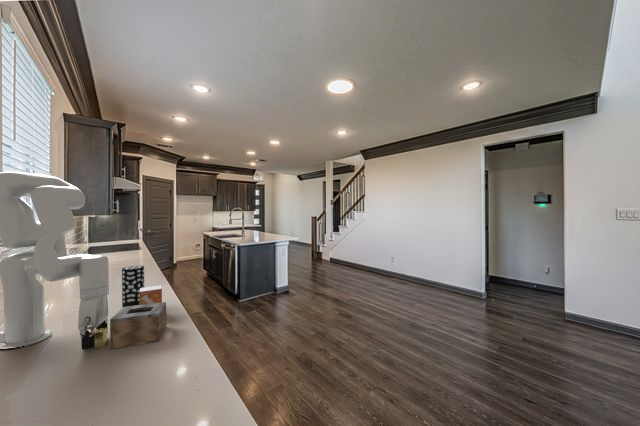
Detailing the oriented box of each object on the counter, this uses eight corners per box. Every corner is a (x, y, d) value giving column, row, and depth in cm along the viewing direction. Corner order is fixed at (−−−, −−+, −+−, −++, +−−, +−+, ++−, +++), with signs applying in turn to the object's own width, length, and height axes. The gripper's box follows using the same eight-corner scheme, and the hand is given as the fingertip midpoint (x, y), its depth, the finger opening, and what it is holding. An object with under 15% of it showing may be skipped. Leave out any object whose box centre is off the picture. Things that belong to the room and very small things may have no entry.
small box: (139, 323, 104) (138, 291, 104) (140, 317, 109) (139, 287, 109) (162, 318, 109) (162, 288, 108) (162, 313, 114) (161, 284, 114)
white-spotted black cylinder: (118, 312, 115) (117, 268, 115) (137, 305, 123) (136, 265, 123) (129, 315, 112) (129, 270, 112) (148, 308, 120) (148, 266, 120)
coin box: (110, 349, 84) (110, 319, 84) (123, 333, 96) (123, 306, 95) (158, 341, 89) (158, 313, 89) (166, 326, 101) (166, 301, 100)
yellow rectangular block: (82, 349, 85) (82, 334, 84) (87, 344, 87) (87, 330, 87) (103, 346, 86) (102, 331, 86) (106, 341, 89) (106, 327, 89)
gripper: (93, 286, 94) (93, 332, 94) (65, 301, 77) (66, 357, 77) (117, 283, 96) (118, 328, 96) (96, 298, 80) (97, 352, 80)
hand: (95, 341), depth 87 cm, fingers open, 9 cm apart
